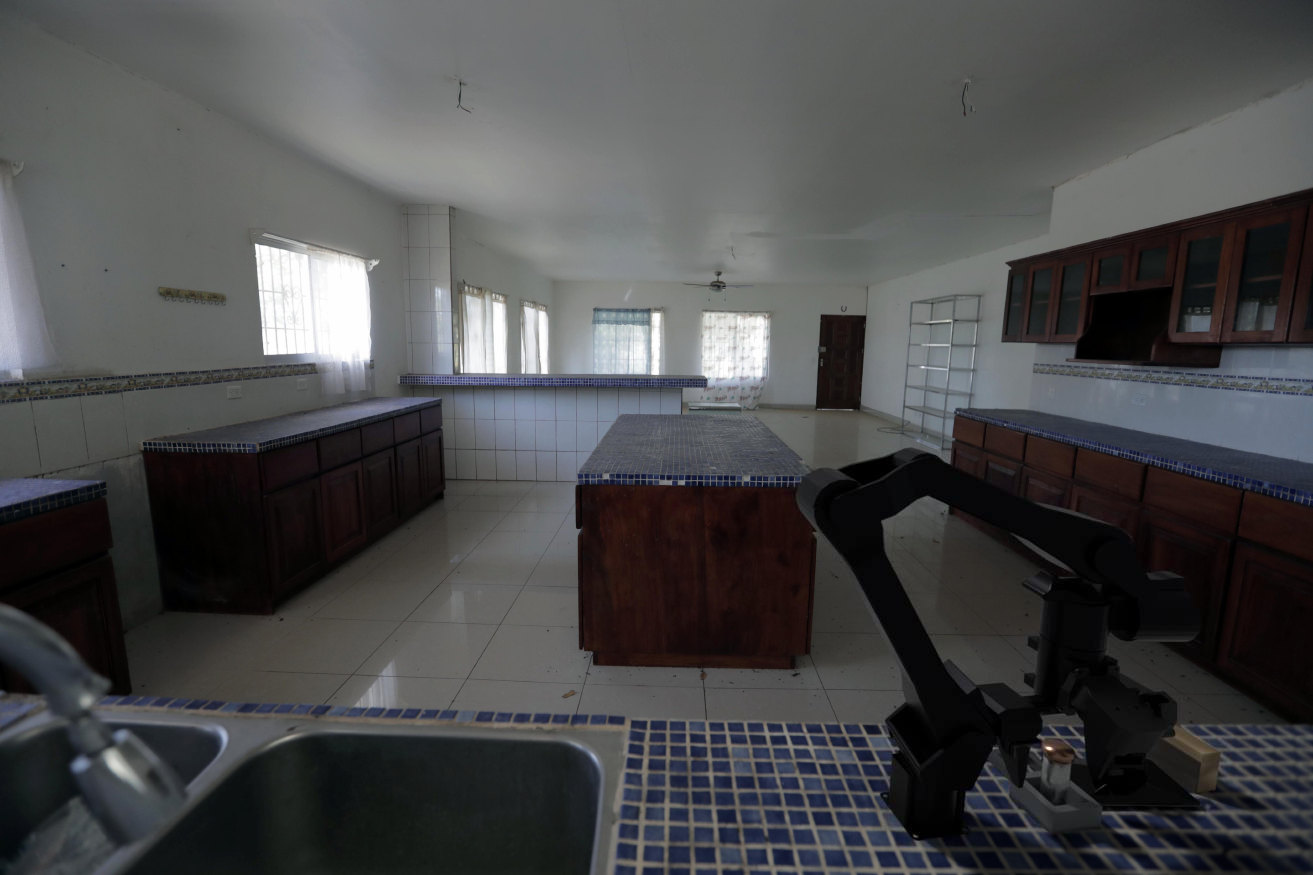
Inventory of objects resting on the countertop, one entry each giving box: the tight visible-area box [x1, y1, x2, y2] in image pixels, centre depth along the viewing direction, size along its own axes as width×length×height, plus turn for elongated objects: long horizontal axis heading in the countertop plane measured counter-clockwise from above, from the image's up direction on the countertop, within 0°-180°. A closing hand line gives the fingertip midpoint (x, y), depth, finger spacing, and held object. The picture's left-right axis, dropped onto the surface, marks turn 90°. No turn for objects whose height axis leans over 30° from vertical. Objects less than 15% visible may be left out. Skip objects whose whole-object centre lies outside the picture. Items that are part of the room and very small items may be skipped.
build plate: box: [1040, 752, 1201, 807], centre depth 65 cm, size 12×7×5 cm, turn 88°
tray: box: [1008, 770, 1104, 836], centre depth 62 cm, size 6×6×2 cm
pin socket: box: [987, 748, 1043, 782], centre depth 68 cm, size 5×5×1 cm
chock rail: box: [1146, 724, 1222, 794], centre depth 67 cm, size 3×6×5 cm, turn 10°
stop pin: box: [1040, 738, 1076, 806], centre depth 62 cm, size 3×3×7 cm
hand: (1056, 780), depth 62 cm, fingers open, 9 cm apart
